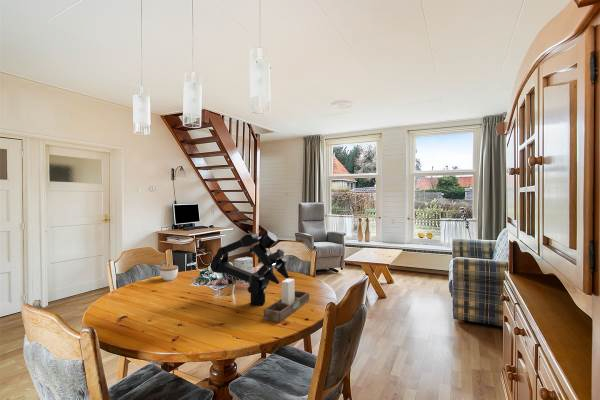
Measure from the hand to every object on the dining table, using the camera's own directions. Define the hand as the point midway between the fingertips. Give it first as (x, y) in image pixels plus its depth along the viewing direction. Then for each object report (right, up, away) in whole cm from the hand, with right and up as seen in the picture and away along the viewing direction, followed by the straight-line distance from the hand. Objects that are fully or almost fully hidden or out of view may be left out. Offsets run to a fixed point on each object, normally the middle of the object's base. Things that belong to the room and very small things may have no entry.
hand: (283, 280), depth 140 cm
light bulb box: (-30, -12, +61) cm, 69 cm away
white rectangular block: (+2, -11, -1) cm, 12 cm away
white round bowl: (-74, -13, +49) cm, 90 cm away
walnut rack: (+2, -13, -1) cm, 13 cm away
